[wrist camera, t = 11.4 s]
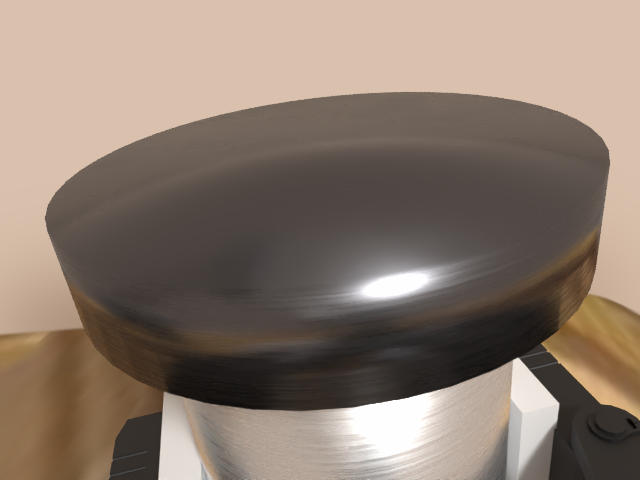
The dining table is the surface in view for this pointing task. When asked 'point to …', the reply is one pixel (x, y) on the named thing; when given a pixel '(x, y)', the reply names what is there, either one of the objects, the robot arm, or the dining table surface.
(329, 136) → the flanged shaft
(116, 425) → the dining table surface
